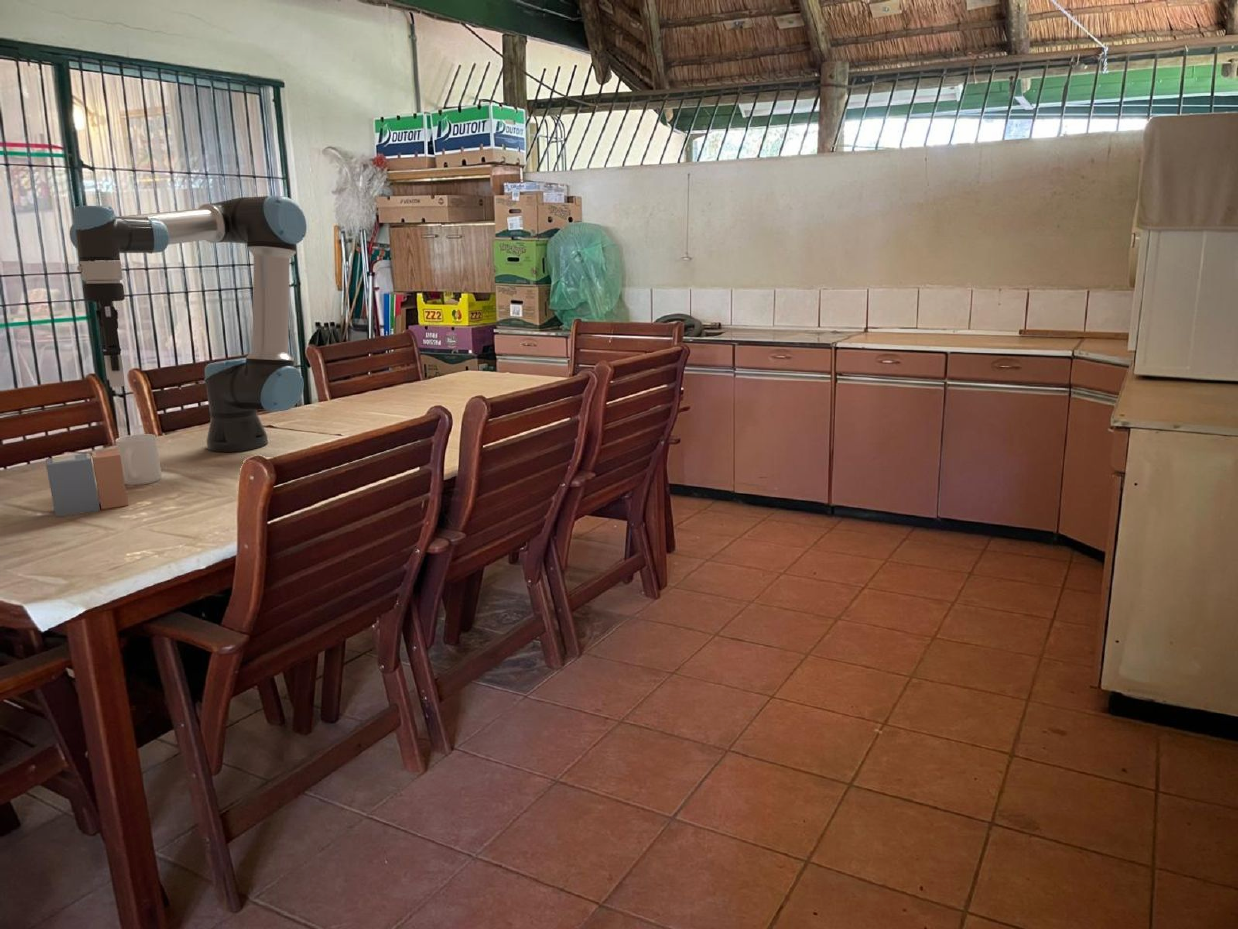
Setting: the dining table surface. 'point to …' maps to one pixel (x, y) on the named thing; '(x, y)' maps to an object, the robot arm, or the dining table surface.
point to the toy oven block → (72, 484)
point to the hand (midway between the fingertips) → (115, 382)
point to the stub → (109, 479)
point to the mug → (139, 459)
